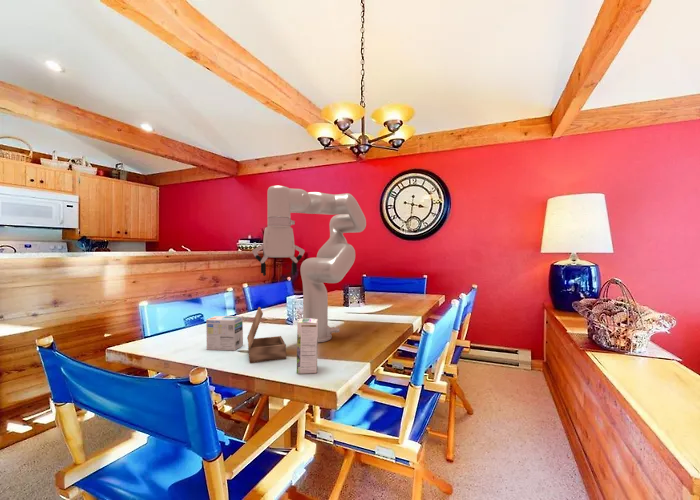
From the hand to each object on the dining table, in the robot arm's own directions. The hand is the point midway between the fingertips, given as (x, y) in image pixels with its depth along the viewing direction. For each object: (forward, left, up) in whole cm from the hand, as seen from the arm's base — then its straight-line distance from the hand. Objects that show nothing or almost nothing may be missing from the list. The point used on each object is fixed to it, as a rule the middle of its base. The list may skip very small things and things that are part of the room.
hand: (279, 274), depth 108 cm
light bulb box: (+17, -14, -27) cm, 35 cm away
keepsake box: (+4, 0, -26) cm, 27 cm away
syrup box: (-6, +17, -27) cm, 32 cm away
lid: (+7, 0, -17) cm, 18 cm away
